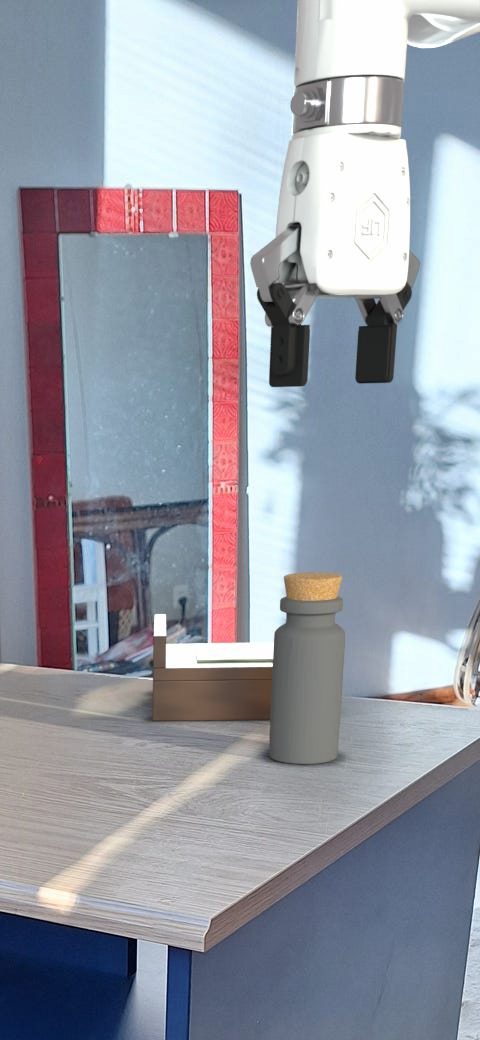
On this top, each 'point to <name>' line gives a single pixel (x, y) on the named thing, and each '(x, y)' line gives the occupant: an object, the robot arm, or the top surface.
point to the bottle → (307, 671)
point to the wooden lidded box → (210, 679)
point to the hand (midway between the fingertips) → (331, 384)
